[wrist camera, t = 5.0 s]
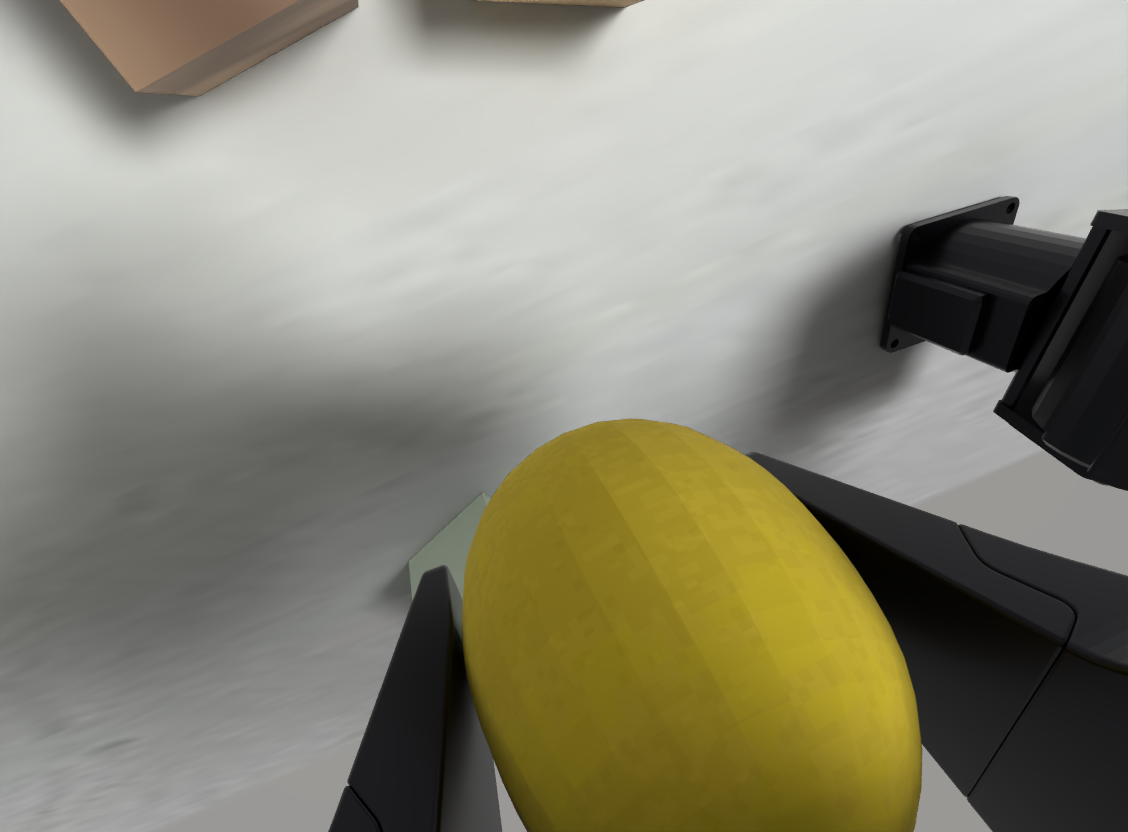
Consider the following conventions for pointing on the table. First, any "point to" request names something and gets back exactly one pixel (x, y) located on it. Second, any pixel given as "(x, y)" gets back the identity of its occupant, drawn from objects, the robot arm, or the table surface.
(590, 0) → the oak block
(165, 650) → the table surface
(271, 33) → the walnut block
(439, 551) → the sage block
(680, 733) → the lemon
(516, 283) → the table surface
